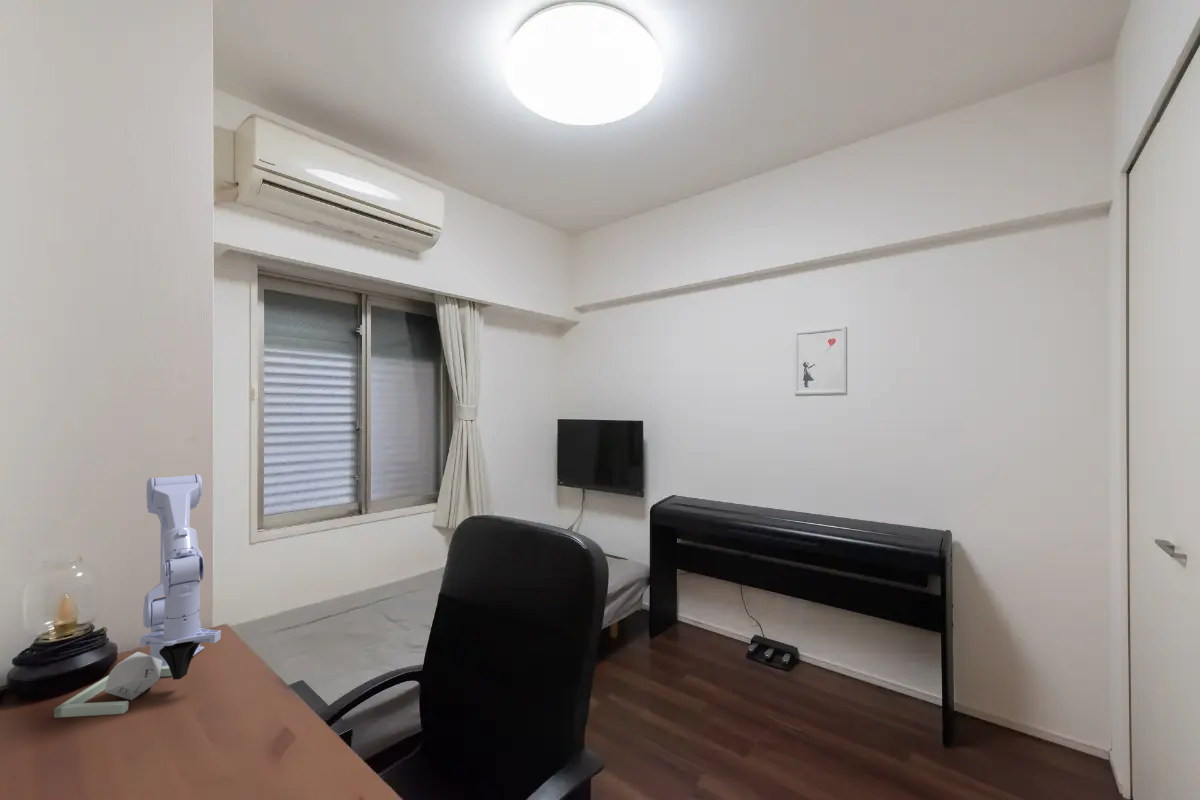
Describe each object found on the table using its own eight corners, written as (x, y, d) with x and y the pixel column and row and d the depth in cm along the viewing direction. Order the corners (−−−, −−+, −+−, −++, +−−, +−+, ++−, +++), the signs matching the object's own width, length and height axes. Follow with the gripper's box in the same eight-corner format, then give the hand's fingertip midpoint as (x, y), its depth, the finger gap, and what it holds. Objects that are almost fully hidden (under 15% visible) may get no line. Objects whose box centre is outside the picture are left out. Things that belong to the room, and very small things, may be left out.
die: (97, 715, 94) (131, 674, 95) (90, 680, 98) (123, 642, 99) (145, 707, 101) (177, 670, 102) (137, 675, 105) (167, 640, 106)
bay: (119, 676, 106) (120, 668, 106) (178, 673, 107) (178, 665, 107) (54, 717, 92) (54, 708, 92) (122, 713, 93) (123, 704, 93)
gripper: (128, 622, 96) (126, 689, 96) (205, 619, 98) (203, 685, 98) (156, 608, 103) (154, 670, 103) (227, 606, 105) (226, 667, 105)
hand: (179, 676), depth 101 cm, fingers closed
